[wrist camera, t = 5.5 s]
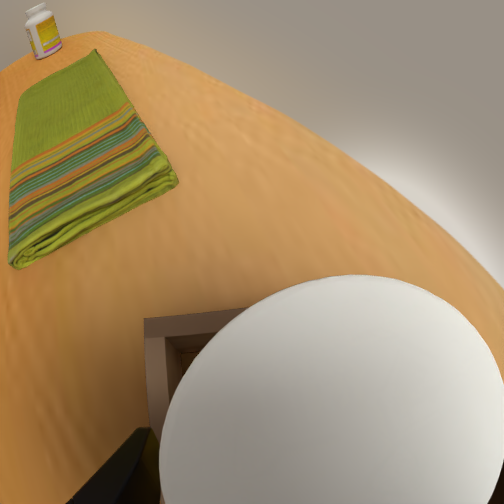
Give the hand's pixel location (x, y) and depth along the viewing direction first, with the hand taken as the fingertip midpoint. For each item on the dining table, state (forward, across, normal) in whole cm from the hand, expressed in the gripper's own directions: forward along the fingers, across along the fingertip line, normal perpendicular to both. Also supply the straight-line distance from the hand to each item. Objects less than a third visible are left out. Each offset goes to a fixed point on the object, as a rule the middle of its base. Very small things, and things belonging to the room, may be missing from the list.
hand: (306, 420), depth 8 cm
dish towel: (+28, +19, -15) cm, 36 cm away
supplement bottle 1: (+53, +37, -41) cm, 76 cm away
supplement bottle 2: (+5, 0, +6) cm, 8 cm away
